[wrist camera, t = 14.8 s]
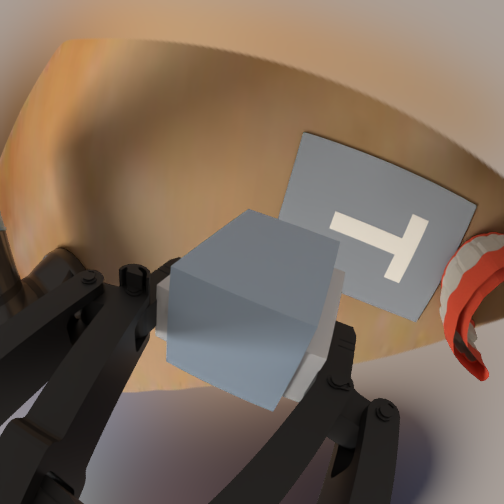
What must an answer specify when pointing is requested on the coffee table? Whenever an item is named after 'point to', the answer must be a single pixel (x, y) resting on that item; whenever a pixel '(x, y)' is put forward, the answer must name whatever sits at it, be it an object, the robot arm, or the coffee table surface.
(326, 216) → the letter card
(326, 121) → the coffee table surface
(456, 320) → the toy
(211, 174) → the coffee table surface
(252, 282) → the block
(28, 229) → the coffee table surface
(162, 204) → the coffee table surface
